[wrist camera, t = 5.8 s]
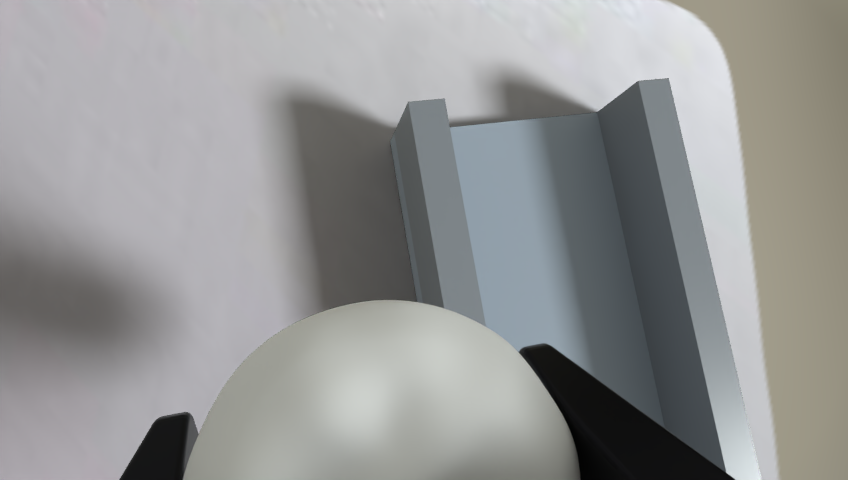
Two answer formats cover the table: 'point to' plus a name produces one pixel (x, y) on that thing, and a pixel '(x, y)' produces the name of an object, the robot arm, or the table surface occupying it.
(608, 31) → the table surface
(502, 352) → the milkshake
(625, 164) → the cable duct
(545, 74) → the table surface
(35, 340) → the table surface
